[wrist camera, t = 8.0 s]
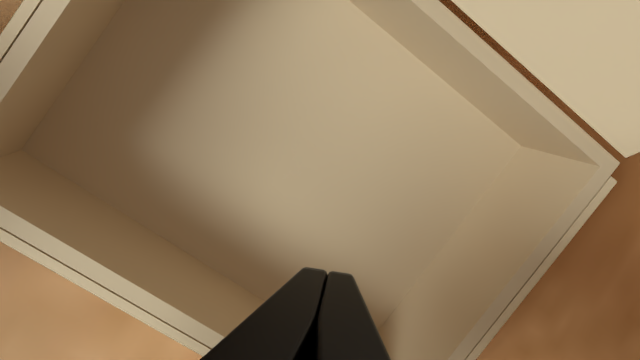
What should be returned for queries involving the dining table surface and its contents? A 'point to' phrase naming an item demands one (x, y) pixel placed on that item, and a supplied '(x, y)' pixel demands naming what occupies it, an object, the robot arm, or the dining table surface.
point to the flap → (576, 56)
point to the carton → (286, 162)
